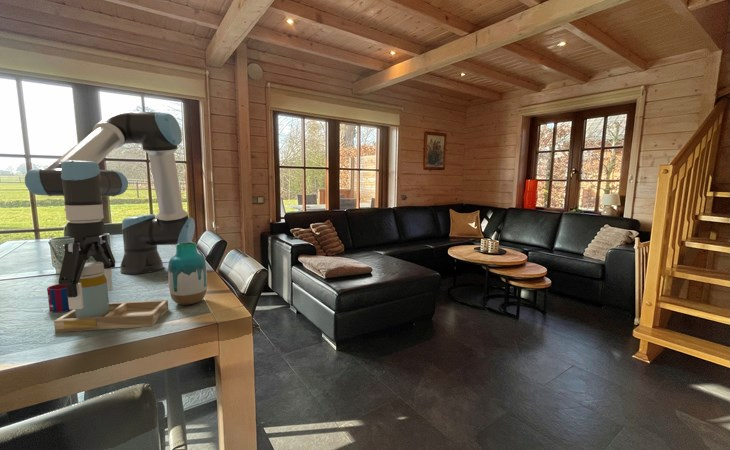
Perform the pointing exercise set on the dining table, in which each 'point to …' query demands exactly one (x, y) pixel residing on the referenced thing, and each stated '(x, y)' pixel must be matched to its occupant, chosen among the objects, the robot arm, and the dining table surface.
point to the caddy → (116, 317)
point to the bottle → (93, 291)
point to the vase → (187, 274)
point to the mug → (58, 298)
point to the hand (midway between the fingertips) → (92, 299)
